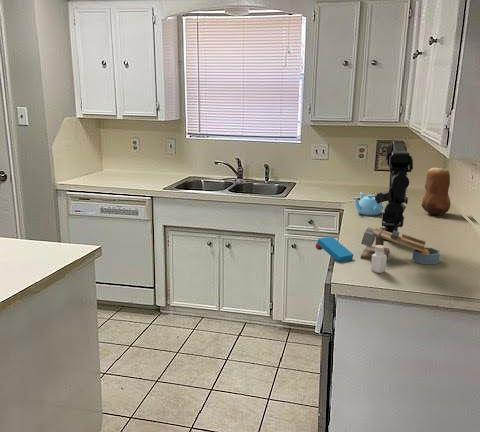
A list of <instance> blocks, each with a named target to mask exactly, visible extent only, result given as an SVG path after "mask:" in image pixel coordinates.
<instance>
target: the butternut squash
mask: <svg viewBox="0 0 480 432" xmlns="http://www.w3.org/2000/svg"><path fill="white" fill-rule="evenodd" d="M425 177H426V179H425V183H424V189H425V192H424V195H423V197H422V203H421V208H423V210H424V212H426V213H427V214H431V215H433V216H441V215H444V214H446V213H448V212H449V210H450V208H451V198H450V196H449V189H450V184H451V176H450V171H449V169H448V168H447V169H446V168H441V167H440V168H439V167H431V168H429V169H428V170H427V173H426V176H425Z"/></svg>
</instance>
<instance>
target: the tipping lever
mask: <svg viewBox="0 0 480 432" xmlns="http://www.w3.org/2000/svg"><path fill="white" fill-rule="evenodd" d="M363 233H364V234H363V237H362V239H361V244H360V245H364V246H369V247H371V246H372V247H373V245H374V242H375V241H376V234H378V235H381V238H383V239H386V240H385V241H387V240H389V241H390V242H393V243H396V244H398V245H402V246H404V247H408V248H411V249H413V250H414V249H416V250H419V251H422V252H423V250H424V247H425V245H426V241H425V240H423V239H419V238H416V237H412V236H410V235H407V234H404V233H402V235H400V233H401V232H400V231H398V232H397V231H394V230H393V233H390V232H387V231H384V230H383V229H380V228H378V227H375V228H371V227H367V228H366V229H365V231H364V232H363ZM389 241H388V242H389Z"/></svg>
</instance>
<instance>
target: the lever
mask: <svg viewBox="0 0 480 432" xmlns="http://www.w3.org/2000/svg"><path fill="white" fill-rule="evenodd" d="M315 249H316V250H319V251H321V250H324V251H325V253H327V254H328V255H329V256H330V257H331V258H333V259H334V260H335V261H336V262H337V263H341V262H345V261H350V260H353V258H354V253H353V252H351V251H350V250H349V249H348V248H346V247H345V246H344V245H343V244H342V243H340V242H339V241H338V240H337V239H336V238H335V237H334V236H332V235H331V236H325V237H320V238H318V240H317V241H316V244H315Z"/></svg>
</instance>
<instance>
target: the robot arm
mask: <svg viewBox="0 0 480 432" xmlns="http://www.w3.org/2000/svg"><path fill="white" fill-rule="evenodd" d="M412 157H413V156H412V155H411V153H410V152H409V151H408V147H406V145H405V141H400V140H399V141H398V140H397V141H395V140H394V141H391V144H389V146H387V147H386V148H385V161H386V165H387V166H388V168H389V185H388V190H386V191H383V192H381V191H380V192H377V193H376V194H375V195H374V197H375V200H376V203H377V204H378V203H380V202H382V203H384V202H387V204H386V206H385V207H383V212H381V227H384V228H385V229H384V231H387V232H390V233H393V230H394V231H397V232H399V228H403V227H404V220H405V216H404V212H405V209H406V207H407V206H405V205H407V204H408V202H409V197H408V196H407V190H408V187H409V185H410V179H409V178H408V173H412V170H413V168H414V162H413V161H414V159H413V158H412ZM384 241H388V242H389V240H386V239H384Z"/></svg>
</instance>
